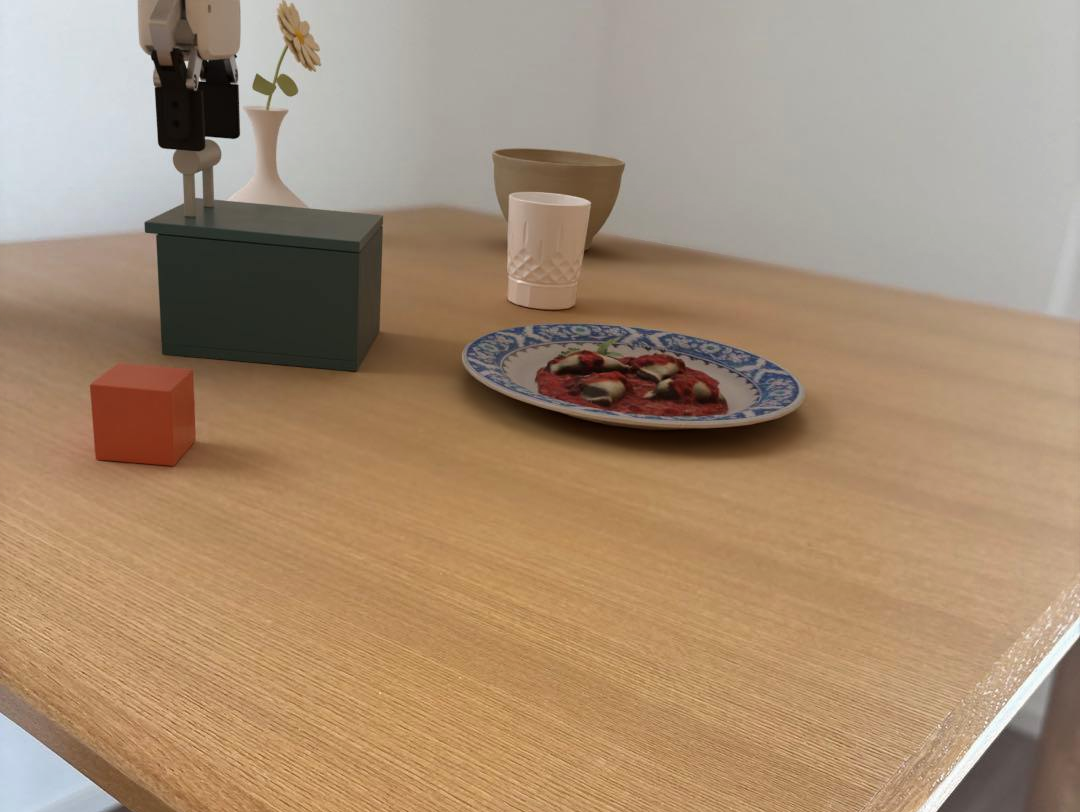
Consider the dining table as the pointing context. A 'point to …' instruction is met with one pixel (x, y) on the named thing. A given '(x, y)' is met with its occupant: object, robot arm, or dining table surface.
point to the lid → (255, 215)
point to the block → (143, 414)
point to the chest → (269, 301)
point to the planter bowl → (560, 179)
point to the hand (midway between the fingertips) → (201, 143)
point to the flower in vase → (276, 115)
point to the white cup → (545, 248)
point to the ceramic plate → (633, 376)
